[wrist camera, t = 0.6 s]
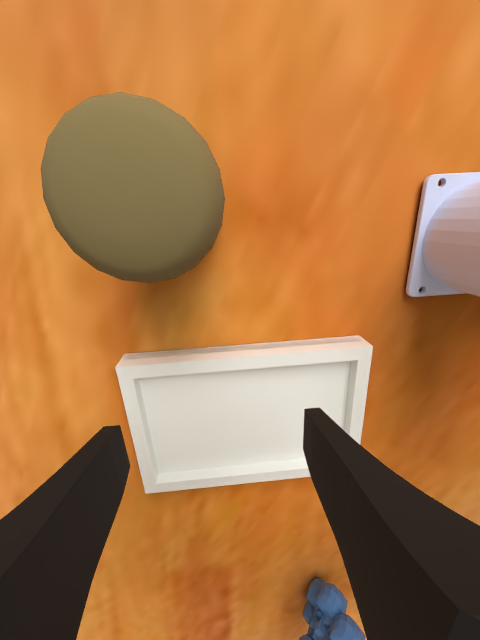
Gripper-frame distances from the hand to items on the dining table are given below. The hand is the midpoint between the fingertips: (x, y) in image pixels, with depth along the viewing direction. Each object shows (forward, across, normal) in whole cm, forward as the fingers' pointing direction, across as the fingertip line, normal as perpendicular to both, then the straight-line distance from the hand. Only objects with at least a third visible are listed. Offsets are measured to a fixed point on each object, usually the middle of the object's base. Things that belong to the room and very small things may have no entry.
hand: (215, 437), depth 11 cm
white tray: (+10, -2, +7) cm, 13 cm away
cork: (+10, +2, -9) cm, 14 cm away
